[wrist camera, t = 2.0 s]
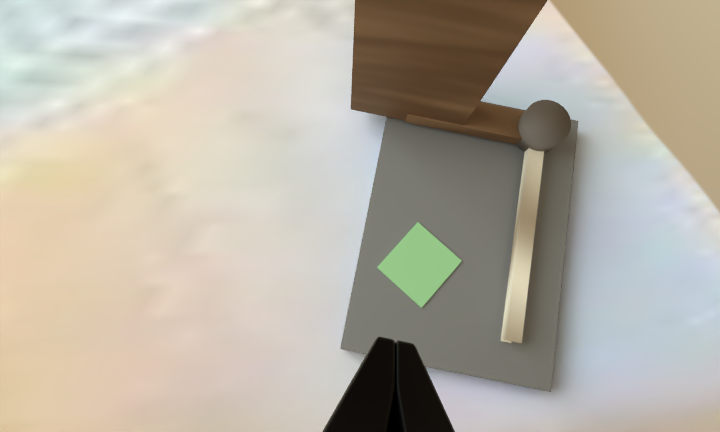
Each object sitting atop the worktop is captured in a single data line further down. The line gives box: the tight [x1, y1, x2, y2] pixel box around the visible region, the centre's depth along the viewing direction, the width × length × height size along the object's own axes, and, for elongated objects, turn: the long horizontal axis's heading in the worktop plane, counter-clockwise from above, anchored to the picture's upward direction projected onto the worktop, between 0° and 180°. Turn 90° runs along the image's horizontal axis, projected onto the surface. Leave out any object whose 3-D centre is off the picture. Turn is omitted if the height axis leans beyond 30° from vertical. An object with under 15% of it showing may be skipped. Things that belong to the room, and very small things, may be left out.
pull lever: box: [351, 0, 571, 343], centre depth 16 cm, size 12×11×14 cm
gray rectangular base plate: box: [341, 101, 578, 392], centre depth 23 cm, size 14×10×1 cm
